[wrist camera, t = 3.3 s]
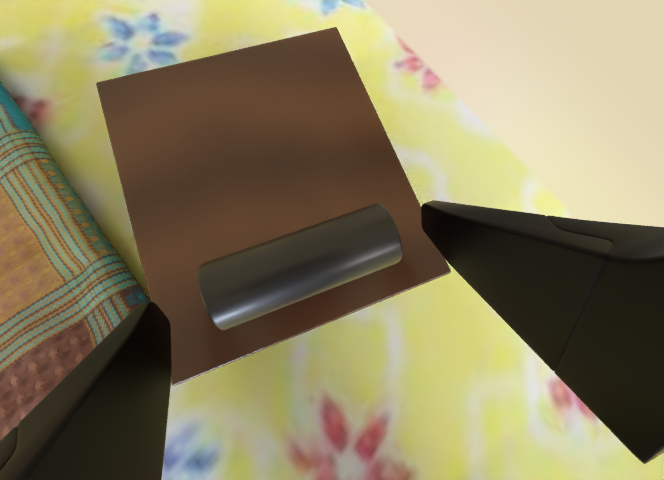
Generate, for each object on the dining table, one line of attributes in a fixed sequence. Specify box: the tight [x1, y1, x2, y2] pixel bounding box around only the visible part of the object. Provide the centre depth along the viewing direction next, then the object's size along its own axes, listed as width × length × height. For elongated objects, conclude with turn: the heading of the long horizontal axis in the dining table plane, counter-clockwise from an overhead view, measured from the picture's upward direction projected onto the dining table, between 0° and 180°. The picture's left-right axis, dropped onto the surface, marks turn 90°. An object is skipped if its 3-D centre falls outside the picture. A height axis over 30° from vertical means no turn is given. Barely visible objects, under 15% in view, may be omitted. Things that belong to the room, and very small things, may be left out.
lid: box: [96, 27, 451, 385], centre depth 10 cm, size 13×12×5 cm
